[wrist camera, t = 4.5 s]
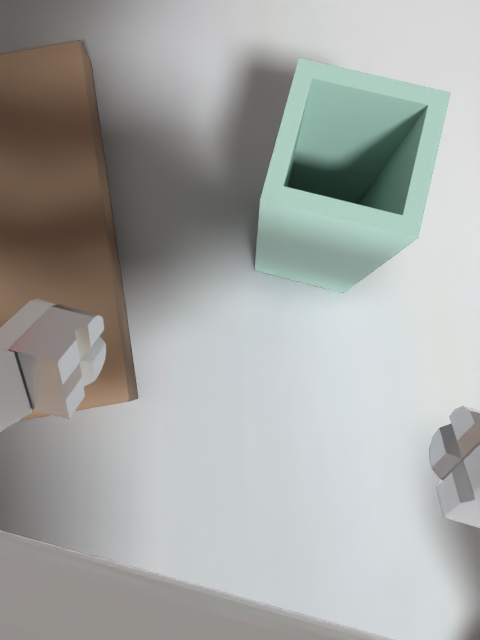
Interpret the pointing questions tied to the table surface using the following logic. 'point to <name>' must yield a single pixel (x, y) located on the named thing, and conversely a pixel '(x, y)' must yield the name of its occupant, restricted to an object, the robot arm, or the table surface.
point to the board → (60, 205)
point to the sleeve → (347, 175)
